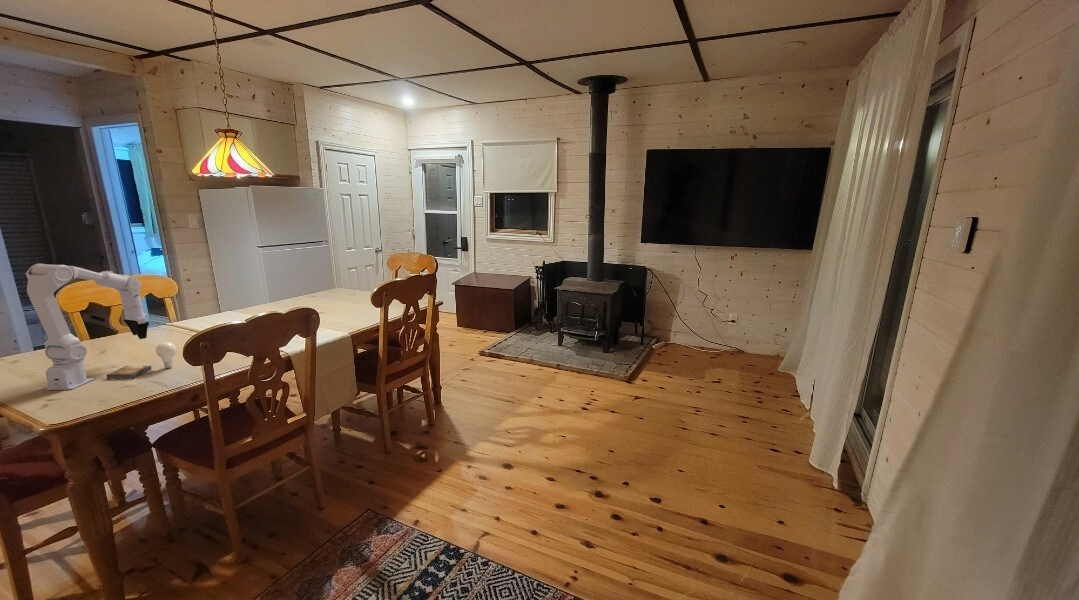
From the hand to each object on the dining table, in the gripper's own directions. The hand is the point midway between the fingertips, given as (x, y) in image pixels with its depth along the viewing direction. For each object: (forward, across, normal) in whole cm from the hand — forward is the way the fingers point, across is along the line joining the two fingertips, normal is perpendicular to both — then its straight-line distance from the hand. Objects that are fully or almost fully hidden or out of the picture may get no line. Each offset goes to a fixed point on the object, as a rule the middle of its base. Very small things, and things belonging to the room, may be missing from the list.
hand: (139, 336), depth 178 cm
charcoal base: (+10, -16, +9) cm, 20 cm away
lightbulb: (+10, -19, -2) cm, 22 cm away
